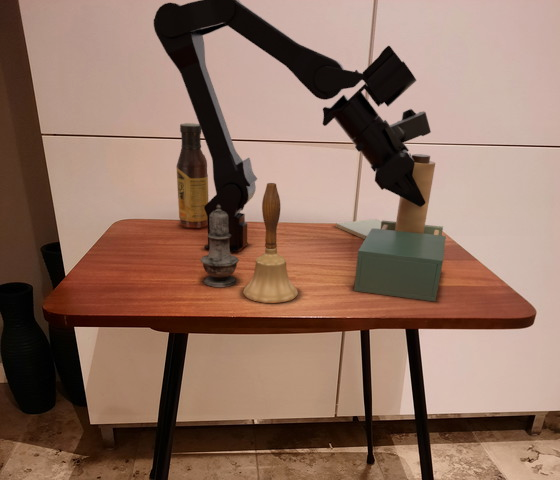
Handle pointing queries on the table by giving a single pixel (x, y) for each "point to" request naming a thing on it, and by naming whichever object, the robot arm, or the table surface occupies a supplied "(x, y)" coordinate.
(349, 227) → the tile
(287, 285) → the hand bell
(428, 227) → the drawer
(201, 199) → the sauce bottle
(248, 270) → the table surface
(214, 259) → the salt shaker
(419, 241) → the cabinet
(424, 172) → the pepper mill
